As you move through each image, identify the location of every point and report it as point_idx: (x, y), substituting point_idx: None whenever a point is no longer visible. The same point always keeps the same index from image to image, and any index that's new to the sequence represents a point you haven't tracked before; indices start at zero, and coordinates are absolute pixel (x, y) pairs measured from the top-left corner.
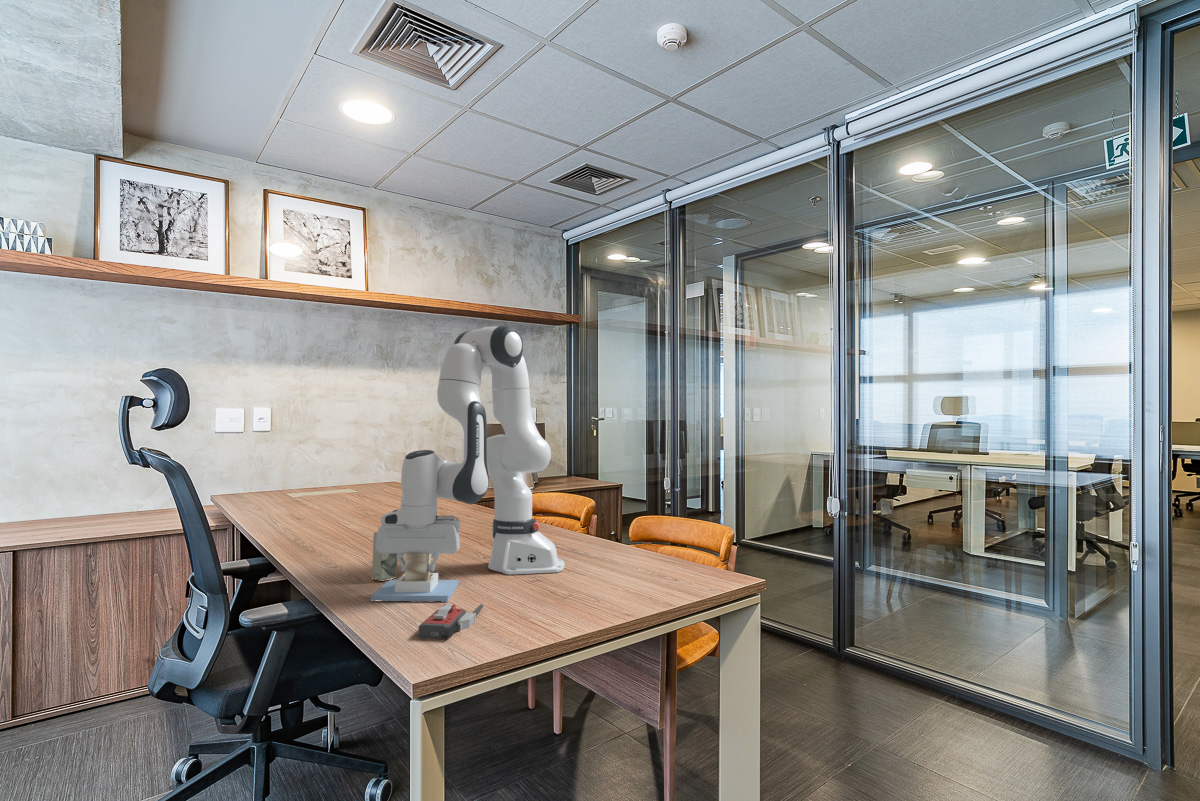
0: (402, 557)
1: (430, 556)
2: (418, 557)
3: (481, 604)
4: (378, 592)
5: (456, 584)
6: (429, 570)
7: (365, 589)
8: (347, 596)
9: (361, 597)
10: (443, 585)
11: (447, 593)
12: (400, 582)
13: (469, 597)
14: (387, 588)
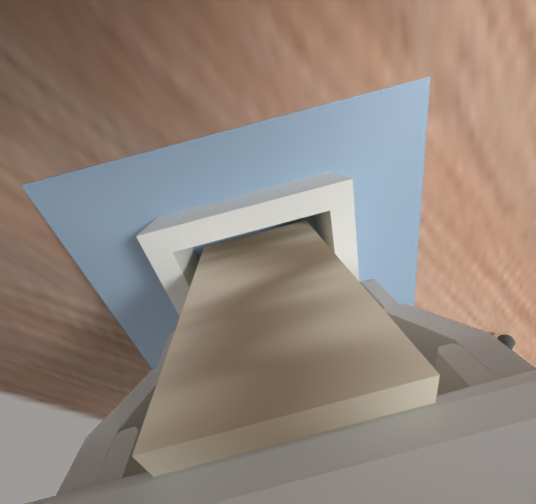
0: (135, 421)
1: (376, 302)
2: None
3: (513, 345)
4: (158, 357)
5: (420, 155)
6: None
7: (2, 264)
8: (36, 349)
9: (96, 343)
10: (369, 211)
11: (408, 300)
12: None
13: (464, 244)
14: (151, 314)
